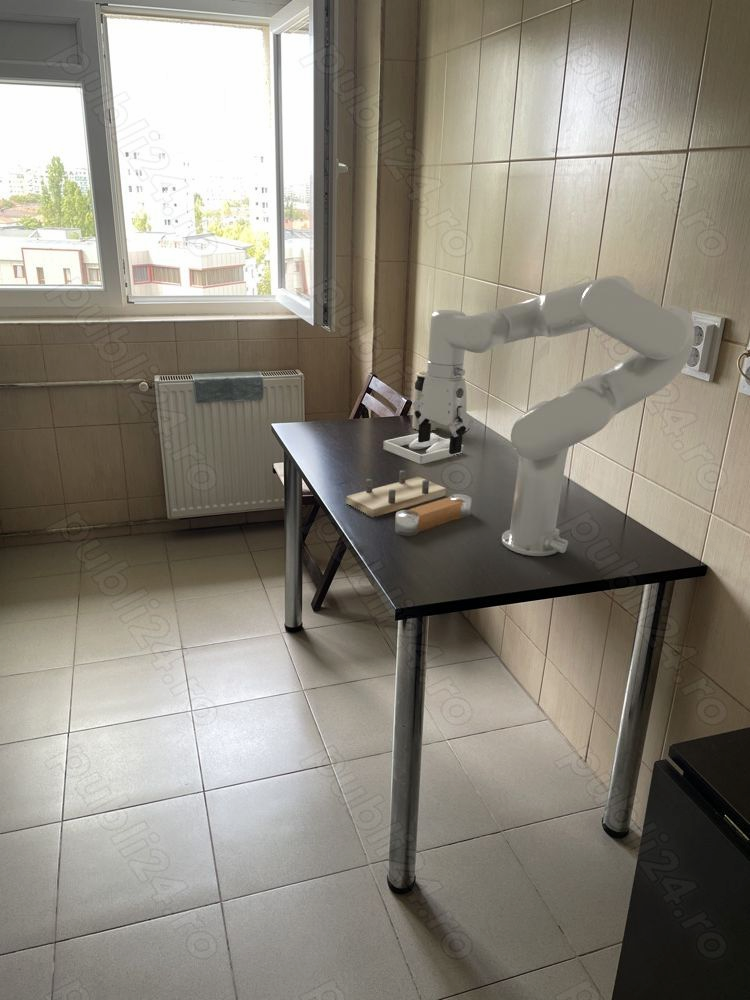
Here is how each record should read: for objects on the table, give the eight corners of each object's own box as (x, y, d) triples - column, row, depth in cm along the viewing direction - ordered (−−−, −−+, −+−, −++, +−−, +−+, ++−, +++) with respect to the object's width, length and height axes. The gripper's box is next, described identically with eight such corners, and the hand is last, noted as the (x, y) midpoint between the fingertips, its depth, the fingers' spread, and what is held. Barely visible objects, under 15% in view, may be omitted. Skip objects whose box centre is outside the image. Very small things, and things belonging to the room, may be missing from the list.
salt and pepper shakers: (430, 443, 225) (401, 448, 219) (430, 429, 224) (402, 435, 218) (455, 454, 216) (426, 460, 210) (456, 440, 215) (427, 446, 209)
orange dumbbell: (474, 514, 174) (476, 499, 172) (405, 537, 160) (406, 521, 159) (458, 507, 177) (460, 492, 176) (390, 529, 164) (390, 513, 162)
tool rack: (445, 495, 184) (446, 477, 182) (372, 517, 169) (373, 497, 168) (417, 483, 191) (419, 465, 189) (345, 503, 176) (346, 484, 175)
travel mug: (410, 430, 236) (414, 375, 229) (413, 424, 243) (417, 370, 236) (435, 432, 235) (439, 377, 228) (437, 426, 242) (441, 372, 235)
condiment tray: (462, 453, 216) (463, 445, 215) (420, 464, 206) (421, 455, 205) (424, 439, 227) (425, 431, 226) (383, 449, 217) (383, 440, 216)
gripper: (487, 376, 152) (479, 454, 158) (429, 361, 164) (424, 434, 170) (462, 380, 147) (455, 460, 154) (404, 364, 159) (400, 439, 166)
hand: (439, 447), depth 162 cm, fingers open, 9 cm apart
